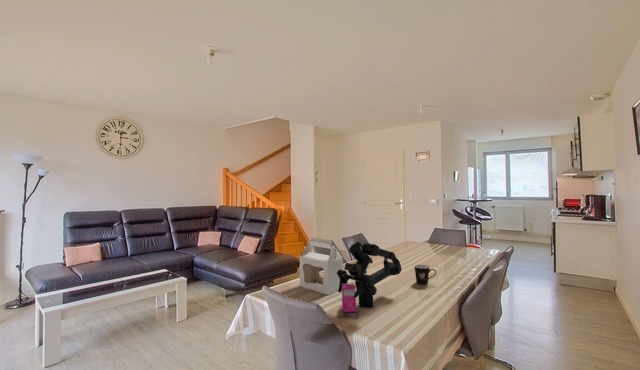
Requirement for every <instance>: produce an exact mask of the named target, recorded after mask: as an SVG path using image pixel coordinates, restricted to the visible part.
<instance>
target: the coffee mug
mask: <svg viewBox="0 0 640 370" xmlns="http://www.w3.org/2000/svg"><path fill="white" fill-rule="evenodd" d="M431 271H434V274H433V275H431V276H430V272H431ZM414 273H415V274H414V275H415V281H416V282H415V283H416V284H418V285H422V286H423V285H426V286H427V285H428V282H429V279H431V278H433V277H434V276H436V275H437V271H436V269H434V268H431V269H430V266H429V265H427V264H415V265H414Z"/></svg>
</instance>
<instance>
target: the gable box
mask: <svg viewBox="0 0 640 370" xmlns="http://www.w3.org/2000/svg"><path fill="white" fill-rule="evenodd" d="M314 247H318V248H324V249H329V254H324V253H321V252H316V251H315V249H314ZM343 262H344V260H343V256H342V255H341V253H340V252H339V250H338V248H337V247H336V246H335V245H334V244H333V241H332V240H330V239H323V238H315V237H310V239H308V241H307V242H306V246H305V247H304V249H303V251H302V252H301V255H300V256H299V287H302V288H304V289H307V290H310V291H313V292H317V293H321V294H325V295H326V296H329V295H332V294H334V293H336V292H338V290H339V283H340V279H339V277H338V275H337V274H336V273H337V271H338V270H344V263H343ZM320 268H322V269H323V271H324V274H323V277H321V276H320V270H321V269H320Z"/></svg>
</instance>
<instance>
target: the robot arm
mask: <svg viewBox="0 0 640 370" xmlns="http://www.w3.org/2000/svg"><path fill="white" fill-rule="evenodd" d="M348 251H349V253H350V254H351V255H352V256H353V257H352V258H354V259H355V260H356V263H354V262H353V263H350V262H349V263H348V262H345V265H344V267H343V270H338V271H337V273H336V274H337V275H338V277H339V279H340V283H339V290H338V291H337V292H338V293H342V284H349V280H352V281H354V286H355V295H354V298H357V297H358V305H359V308H369V309H373V308H374V296H376V295H377V292H378V289H377V288H376V286H375V285H377V284H378V283H380V282H382V281H383V280H385V279H386V278H388V277H390V276H397V275H399V274H400V273H402V265H401V262H400V260H399V259H398V258H397V256H396V254H395V252H393V251H390V250H386V249H384V248H380V246H379V245H378V244H376V243H375V244H374V243H369V242H364V243H363V244H362V243H361V242H359V241H356V242H355V243H353V244H352V245H350V246H349V248H348ZM373 257H382V258H384V260H383V261H382V262H383V267H381V269H378V270H377V271H376V272H373V273H371V274H367V272H368V271H367V270H368V267H369V266H370V265H371V264H374V263H373V259H372V258H373ZM388 260H391V261H392V262H391V261H388Z"/></svg>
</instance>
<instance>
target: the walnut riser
mask: <svg viewBox="0 0 640 370" xmlns="http://www.w3.org/2000/svg"><path fill="white" fill-rule="evenodd" d="M359 314H360V306H356V313H344V312H343V308H342V305H339V308H338V312H337V318H341V319H343V318H344V319H359V316H360V315H359Z"/></svg>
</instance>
